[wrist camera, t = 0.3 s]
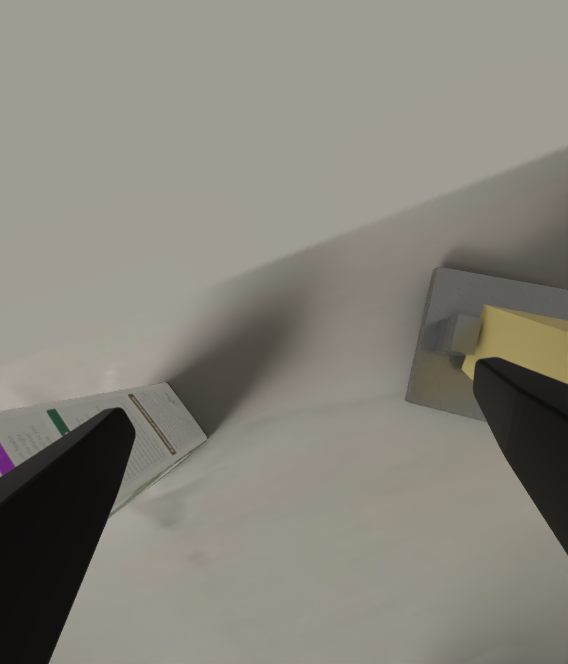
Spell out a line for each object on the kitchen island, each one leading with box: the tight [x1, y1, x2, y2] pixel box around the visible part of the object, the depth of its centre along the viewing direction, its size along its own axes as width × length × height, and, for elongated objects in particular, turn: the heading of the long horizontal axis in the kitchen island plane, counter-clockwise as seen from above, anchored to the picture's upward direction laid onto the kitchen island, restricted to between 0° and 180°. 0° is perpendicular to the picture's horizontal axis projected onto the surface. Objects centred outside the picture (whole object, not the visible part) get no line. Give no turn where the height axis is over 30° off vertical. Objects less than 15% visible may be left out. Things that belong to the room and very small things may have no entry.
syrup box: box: [0, 383, 207, 518], centre depth 17 cm, size 6×6×14 cm
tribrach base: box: [405, 267, 568, 422], centre depth 19 cm, size 9×9×5 cm
